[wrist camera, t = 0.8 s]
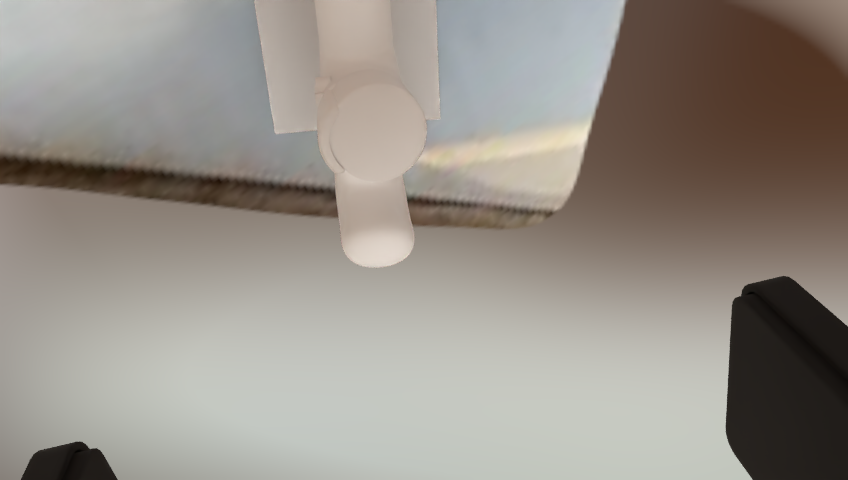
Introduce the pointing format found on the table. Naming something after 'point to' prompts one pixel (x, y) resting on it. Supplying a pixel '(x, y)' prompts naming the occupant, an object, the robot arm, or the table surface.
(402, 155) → the figurine
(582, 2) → the table surface
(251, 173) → the table surface
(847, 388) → the robot arm
